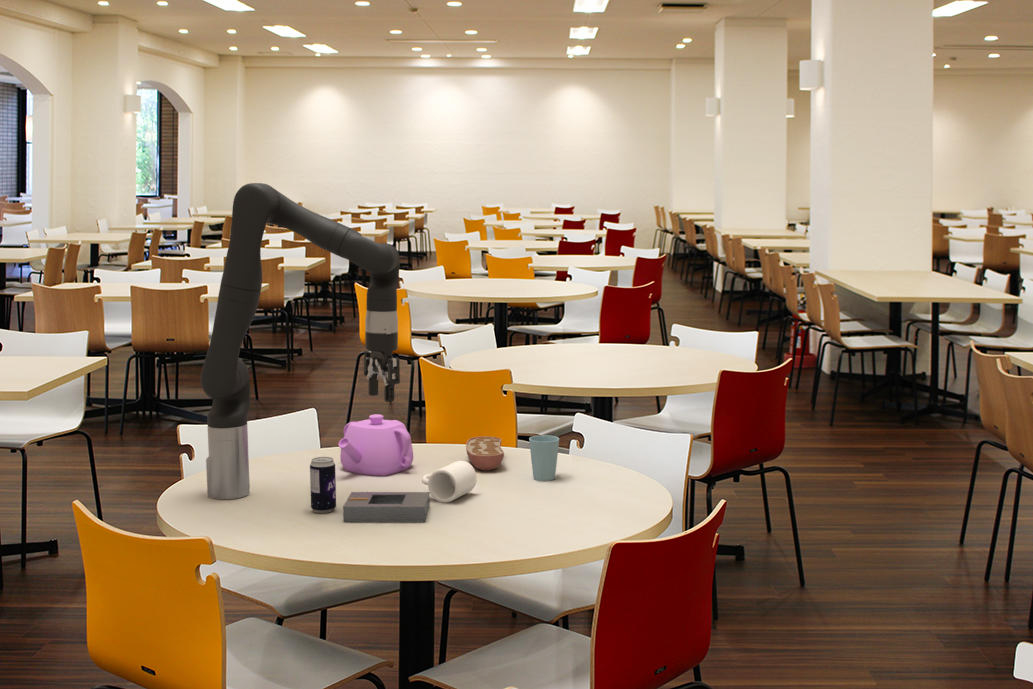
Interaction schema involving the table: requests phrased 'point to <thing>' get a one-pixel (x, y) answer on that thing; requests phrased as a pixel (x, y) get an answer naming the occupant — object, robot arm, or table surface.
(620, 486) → the table surface
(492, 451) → the anatomical model
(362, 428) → the teapot
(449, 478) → the mug
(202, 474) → the table surface
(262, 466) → the table surface
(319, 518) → the table surface
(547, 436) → the cup
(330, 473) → the beverage can
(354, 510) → the jig
